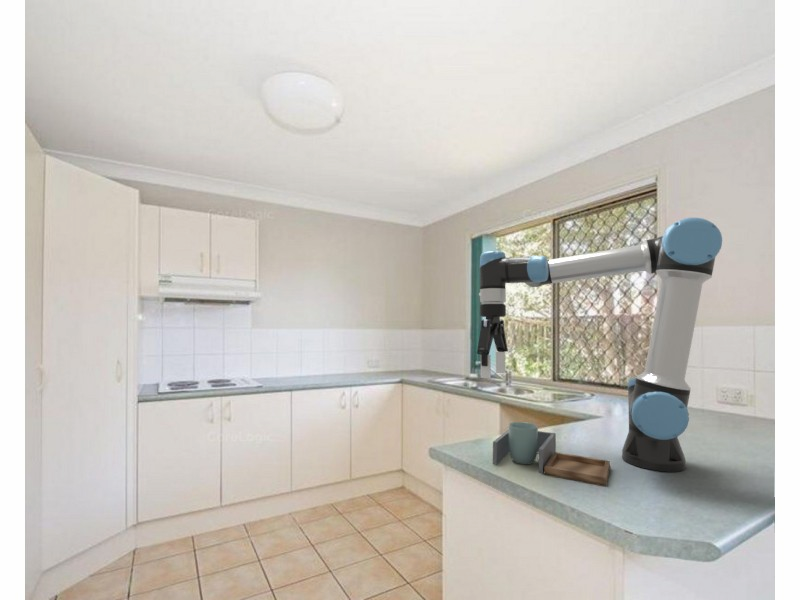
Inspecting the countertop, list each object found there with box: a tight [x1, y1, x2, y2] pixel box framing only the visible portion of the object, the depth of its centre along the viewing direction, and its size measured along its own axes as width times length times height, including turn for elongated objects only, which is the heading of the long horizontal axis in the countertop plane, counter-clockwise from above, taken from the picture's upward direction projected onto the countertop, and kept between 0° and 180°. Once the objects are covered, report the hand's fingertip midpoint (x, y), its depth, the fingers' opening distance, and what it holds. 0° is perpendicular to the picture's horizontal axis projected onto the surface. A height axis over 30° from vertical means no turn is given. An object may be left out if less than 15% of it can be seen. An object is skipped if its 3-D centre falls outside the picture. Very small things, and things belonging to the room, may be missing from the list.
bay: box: [492, 428, 557, 475], centre depth 118 cm, size 13×18×6 cm
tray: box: [543, 452, 611, 487], centre depth 108 cm, size 14×14×2 cm
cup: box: [508, 421, 539, 465], centre depth 115 cm, size 8×8×10 cm
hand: (493, 375), depth 124 cm, fingers open, 13 cm apart
